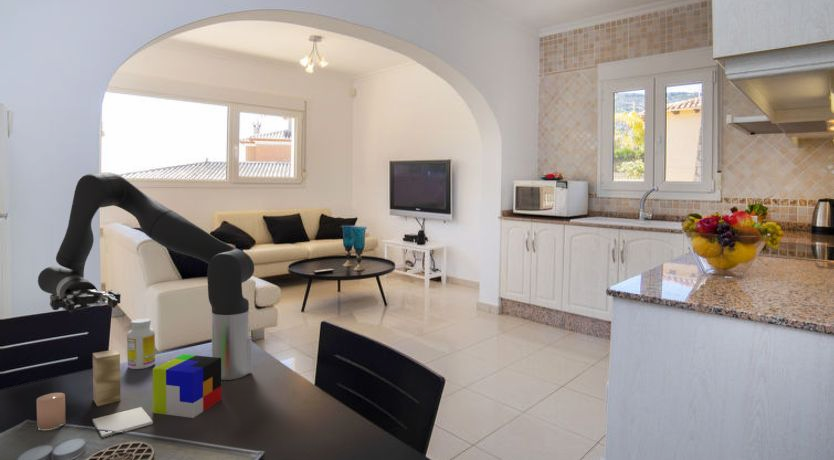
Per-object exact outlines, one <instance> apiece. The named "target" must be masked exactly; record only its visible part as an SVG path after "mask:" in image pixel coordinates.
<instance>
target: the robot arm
mask: <svg viewBox="0 0 834 460" xmlns="http://www.w3.org/2000/svg"><path fill="white" fill-rule="evenodd" d="M111 206H114V207H117V208H120V209H122V210H124V211H126V212H127V213H129V214H131V215H132V216H133V217H135V219H136V221H137V222H138V225H139V226H140V229H141V230H142V232H143V233H144V234H145V236H146V237H148V238H149V239H151V240H153V241H154V242H155V243H157V244H159V245H161V246H162V247H164V248H166V249H169V250H170V251H173V252H175V253H179V254H183V255H185V256H189V257H192V258H195V259H198V260H200V261H203V262H205V263H206V264H208V265H207V274H206V276H207V277H206V279H207V295H208V296H207V297H208V302H209V304H210V306H211V357H216V358H221V381H231V380H237V379H240V378H244V377H245V376H247V375H249V374H252V370H253V369H252V367H253V366H252V365H253V364H252V362H253V361H252V358H253V357H252V356H253V355H252V352H253V351H252V350H253V349H252V346H253V343H252V342H253V341H252V340H253V339H252V337H249V335H250V334H249V331H250V328H249V326H250V325H249V324H250V323H249V322H250V321H249V320H250V319H249V315H250V311H249V310H250V309H249V308H250V306H249V305H250V302H249V300H248V299H247V298H246V297H244V295H243V286H242V285H243V283H245V282H247V281H249V279H251V278H252V277H253V275H254V272H255V264H254V261H253V259H252V258H251V256H250V255H249V254H248V253H247V252H245V251H243V250H241V249H239V248H237V247H236V246H233V245H230V244H228V243H226V242H224V241H222V240H220V239H218V238H216V237H215V236H214V235H212V234H210V233H208V232H207V231H206V230H204V229H202V228H201V227H199V226H198V225H197V224H195V223H193V222H191V221H190V220H189V219H187V218H186V217H184V216H182V215H180V214H179V213H177V212H175V211H174V210H172V209H171V208H169V207H166V206H165V205H164V204H162V203H160V202H159V201H157V200H155V199H154V198H152V197H151V196H149V195H147V194H146V193H144V192H143V191H141V190H140V189H139V188H138V187H136V186H135V185H134V184H133V183H131V181H129V180H128V179H126V178H124V177H123V176H121V175H120V174H118V173H115V172H98V173H97V172H96V173H88V174H85V175H83V176H81V178H79V180H78V181H77V183H76V186H75V189H74V192H73V199H72V204H71V209H70V215H69V219H68V225H67V229H66V232H65V235H64V237H63V240H62V242H61V244H60V246H59V248H58V250H57V252H56V257H55V260H56V263H57V264H58V265H59V266H61V267H57V266H48V267H45V268H44V269H43V270H42V271H40V273H39V275H38V277H37V284H38V287H39V288H40V290H41V291H43V292H44V293H47V294H50V295H49V306H50V307H51V309H52V310H53V311H57V310H58V311H59V310H60V309H61V308H62V310H64V311H68V312H69V313H74V312H75V310H77V311H78V310H84V309H87V308H89V307H90V306H100V307H102V306H105V305H107V306H109V307H110V308H112V309H115V308H116V307H117V306H118V304H121V293H120V292H119V291H116V290H114V289H109V290H108V291H107V292H106V291H102V290H98V289H97V287H96V285H95V284H93V283H92V282H91V281H89V280H88V279H86V278H85V276H84V275H85V265H86V262H87V259H88V257H89V255H90V253H91V251H92V249H93V247H94V240H95V239H94V233H93V228H92V221H93V218H94V217H95V215H96V213H97V212H98V210H99V209H101V208H107V207H111Z"/></svg>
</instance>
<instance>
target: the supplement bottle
mask: <svg viewBox="0 0 834 460" xmlns="http://www.w3.org/2000/svg"><path fill="white" fill-rule="evenodd" d="M130 326H131V329H130V330H129V331H128V332H127V334H126V341H127V345H126V347H127V348H126V349H127V351H126V353H127V367H128V368H129V369H131V370H140V369H141V370H142V369H148V368H150V367H152V366H153V365H155V363H156V349H155V348H156V340H155V339H156V338H155V330H154V328H153V327H151V318H137V319H133V320H131V321H130Z"/></svg>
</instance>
